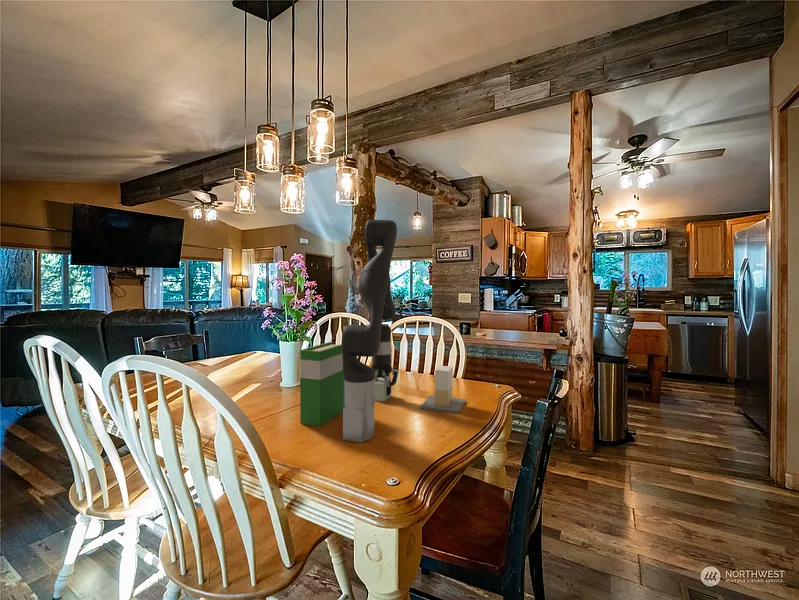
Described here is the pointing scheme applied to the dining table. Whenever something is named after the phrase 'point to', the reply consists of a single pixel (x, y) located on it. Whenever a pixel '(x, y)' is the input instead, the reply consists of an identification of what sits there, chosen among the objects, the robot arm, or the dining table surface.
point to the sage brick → (381, 390)
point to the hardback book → (321, 383)
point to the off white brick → (443, 377)
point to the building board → (441, 408)
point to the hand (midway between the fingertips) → (381, 394)
